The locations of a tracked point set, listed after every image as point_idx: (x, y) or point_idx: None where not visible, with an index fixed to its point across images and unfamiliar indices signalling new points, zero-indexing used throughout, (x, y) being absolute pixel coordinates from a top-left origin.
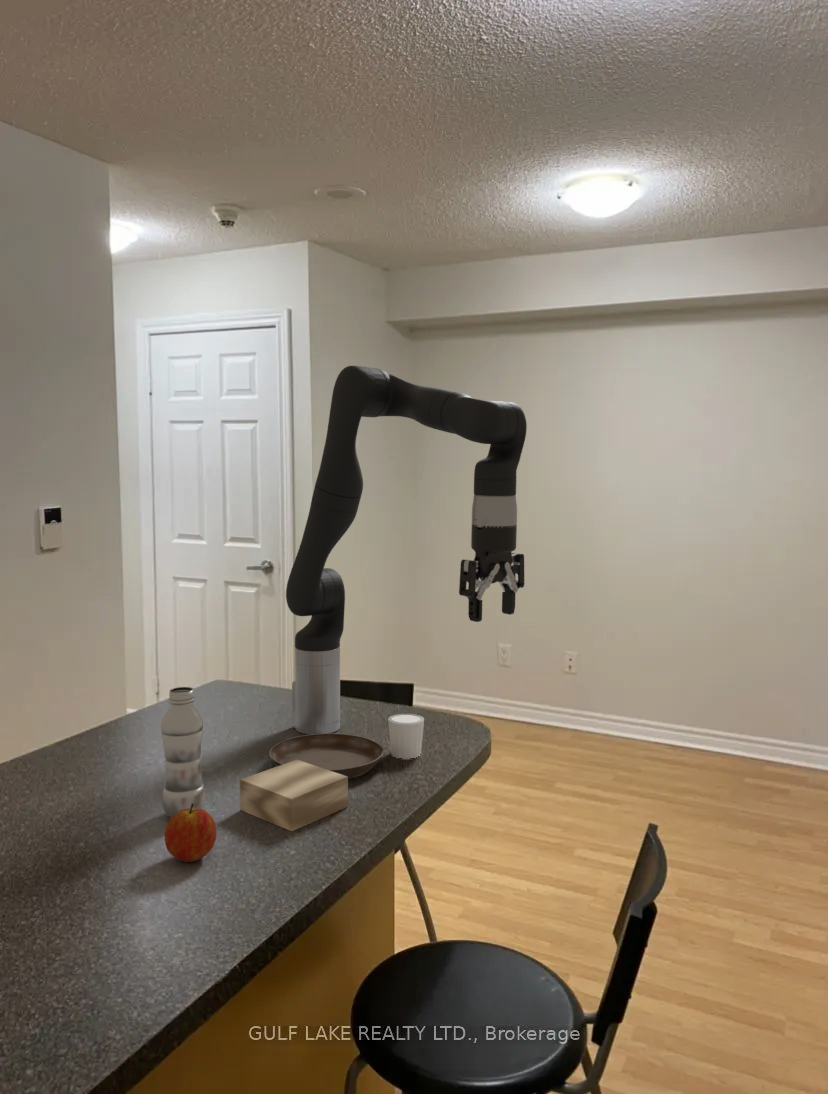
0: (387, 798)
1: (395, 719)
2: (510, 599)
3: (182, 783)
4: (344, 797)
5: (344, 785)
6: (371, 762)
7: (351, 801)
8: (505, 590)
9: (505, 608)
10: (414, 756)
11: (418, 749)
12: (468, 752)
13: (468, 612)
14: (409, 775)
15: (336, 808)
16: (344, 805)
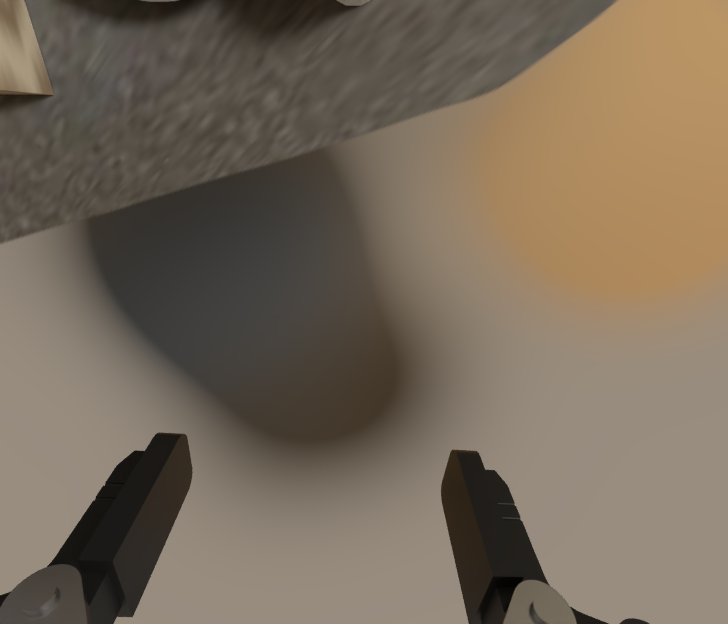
0: (144, 128)
1: None
2: (463, 571)
3: None
4: (28, 93)
5: (8, 91)
6: (168, 1)
7: (74, 79)
8: (498, 607)
9: (454, 487)
10: (343, 3)
11: (356, 2)
12: (454, 88)
13: (110, 477)
14: (258, 76)
15: (16, 94)
16: (40, 94)
